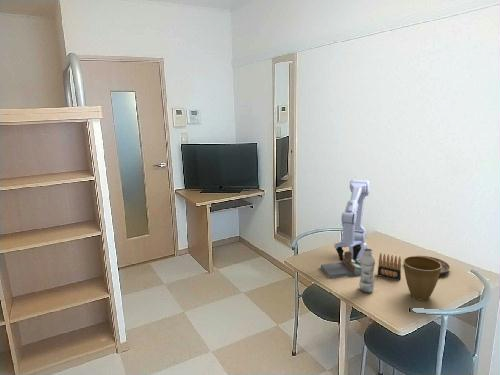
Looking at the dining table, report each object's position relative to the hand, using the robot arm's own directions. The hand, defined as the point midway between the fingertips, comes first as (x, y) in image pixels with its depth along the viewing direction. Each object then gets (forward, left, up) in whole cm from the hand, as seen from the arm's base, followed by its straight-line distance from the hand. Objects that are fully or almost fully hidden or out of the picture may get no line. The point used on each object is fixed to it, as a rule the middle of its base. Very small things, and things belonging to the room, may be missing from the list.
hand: (347, 259), depth 179 cm
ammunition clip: (-16, +12, -6) cm, 21 cm away
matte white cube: (-2, -4, -5) cm, 6 cm away
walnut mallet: (0, 0, -4) cm, 4 cm away
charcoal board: (+6, 0, -6) cm, 9 cm away
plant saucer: (-39, +9, -6) cm, 41 cm away
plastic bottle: (+1, +21, -6) cm, 22 cm away
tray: (-4, 0, -6) cm, 7 cm away
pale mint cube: (-2, +4, -5) cm, 6 cm away
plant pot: (-19, +31, -6) cm, 37 cm away
